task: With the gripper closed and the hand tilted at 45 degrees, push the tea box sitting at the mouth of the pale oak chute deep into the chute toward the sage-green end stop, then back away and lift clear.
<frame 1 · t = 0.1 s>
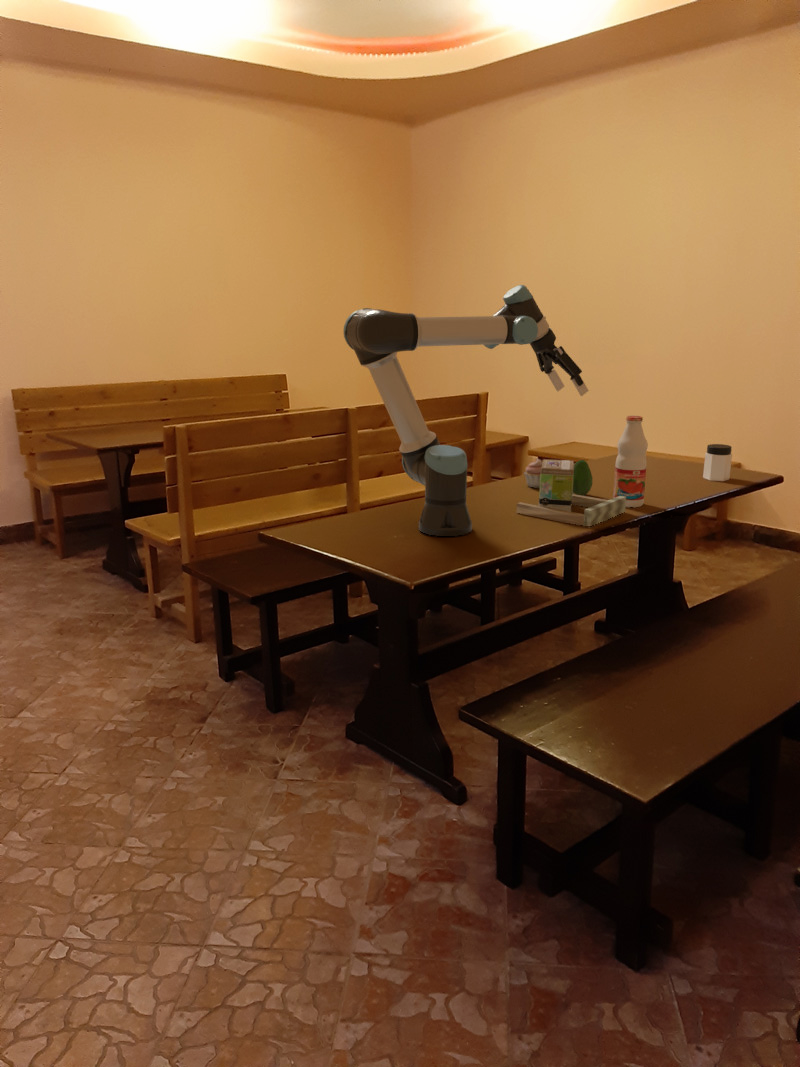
hand: (572, 391, 255), 36 cm above the table, tool tilted 35°, fingers open, 13 cm apart
avocado: (579, 495, 277), on the table
tea box: (555, 510, 259), on the table
cupcake: (536, 487, 290), on the table
chute: (569, 512, 255), on the table
fruit juice: (627, 505, 265), on the table
jar: (716, 479, 300), on the table
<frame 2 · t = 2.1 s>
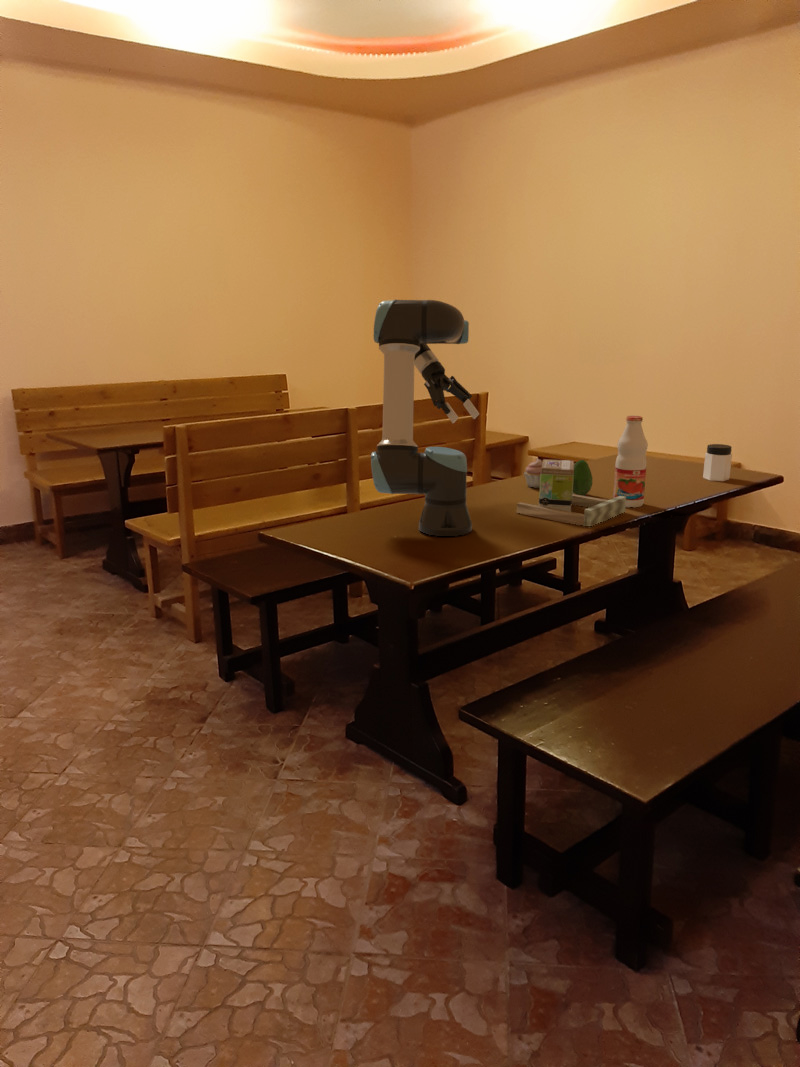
hand: (466, 418, 274), 25 cm above the table, tool tilted 45°, fingers open, 11 cm apart
nothing on the table moved.
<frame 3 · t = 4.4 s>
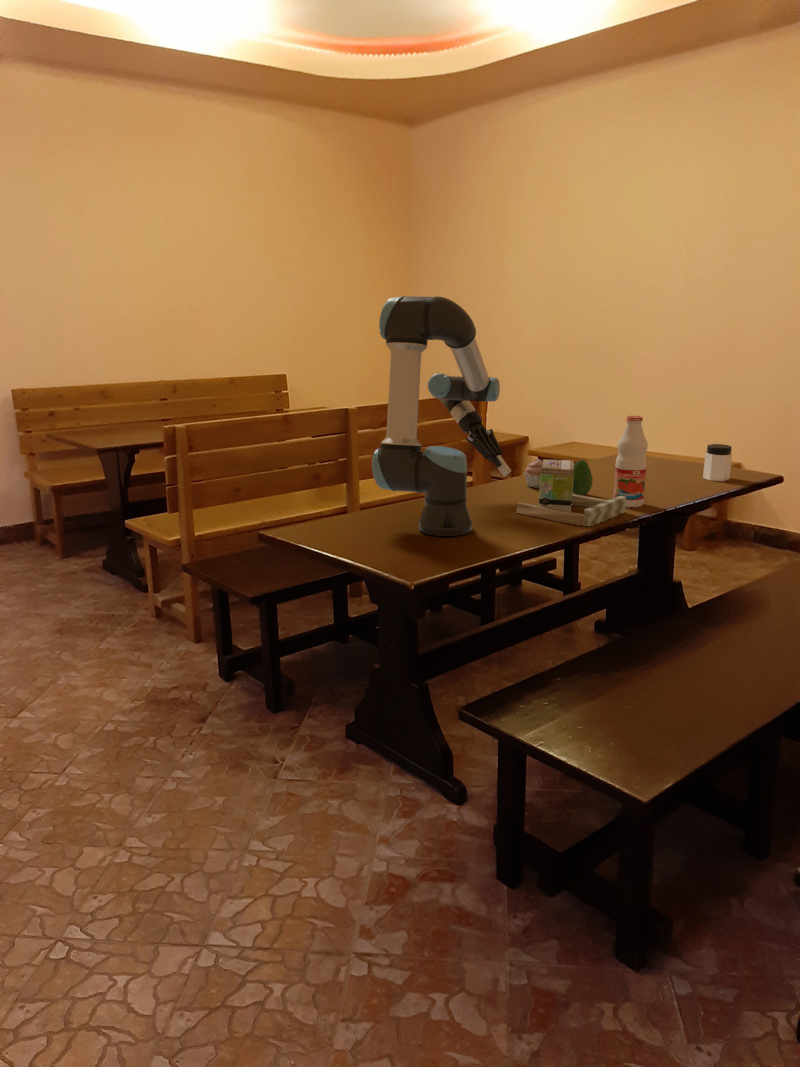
hand: (507, 473, 269), 9 cm above the table, tool tilted 45°, fingers closed
nothing on the table moved.
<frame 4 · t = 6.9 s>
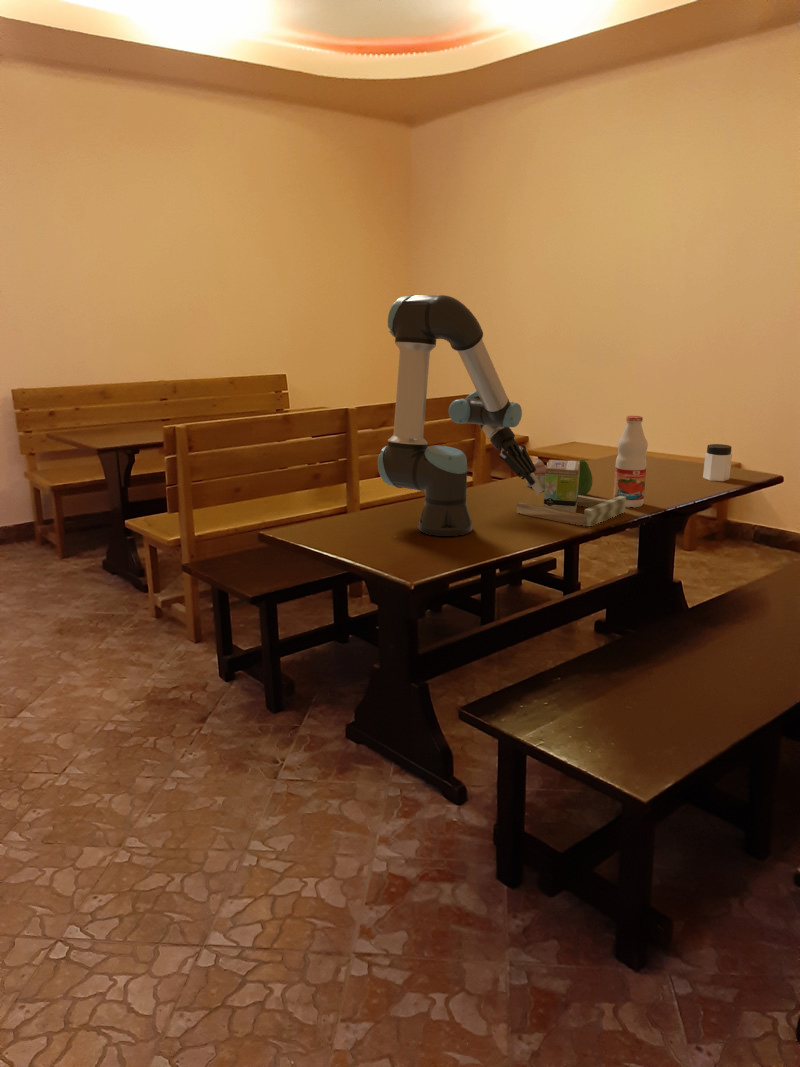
hand: (541, 491, 261), 5 cm above the table, tool tilted 45°, fingers closed
tea box: (560, 511, 258), on the table, touching gripper
everything else where it was.
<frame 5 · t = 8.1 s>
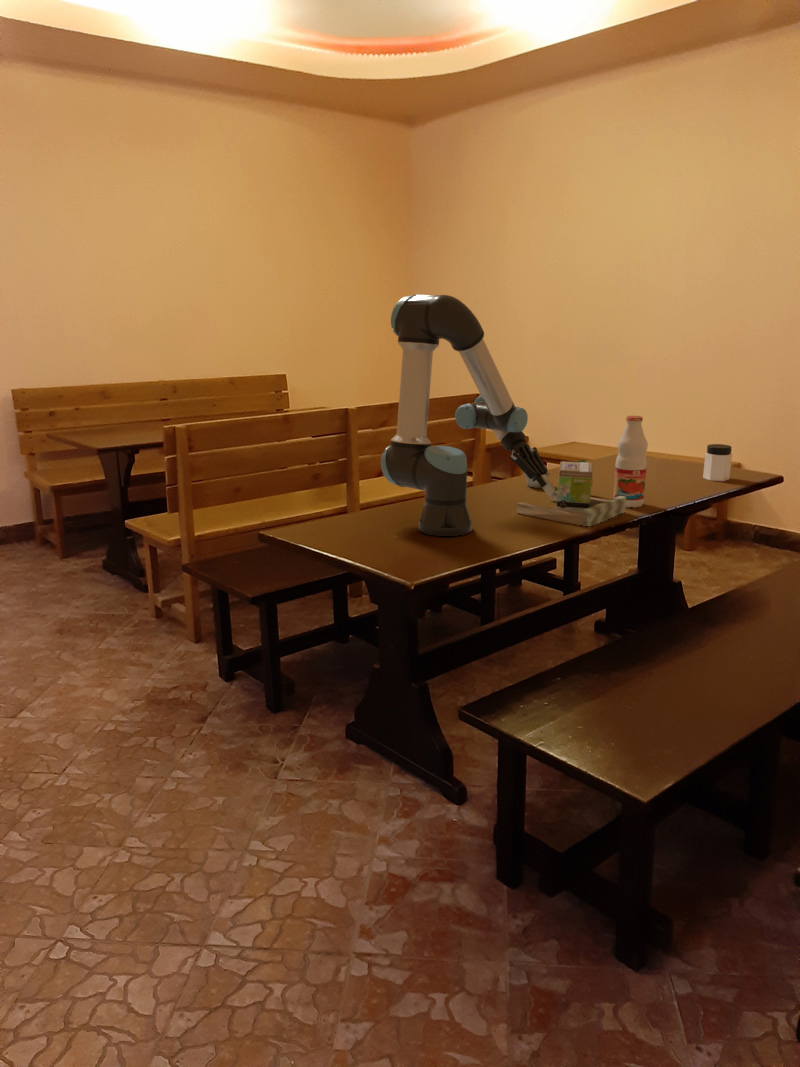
hand: (552, 493, 258), 5 cm above the table, tool tilted 45°, fingers closed
tea box: (572, 513, 255), on the table, touching gripper
everything else where it was.
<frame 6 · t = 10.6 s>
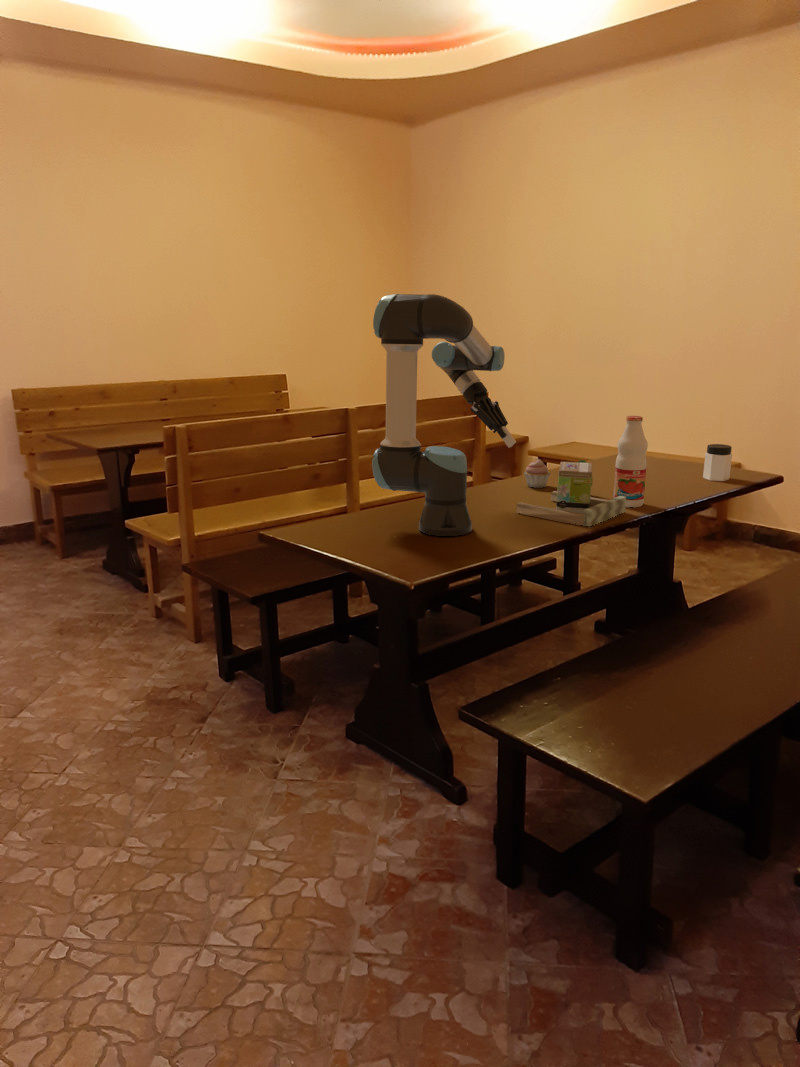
hand: (512, 444, 264), 18 cm above the table, tool tilted 45°, fingers closed
tea box: (572, 513, 255), on the table
everything else where it was.
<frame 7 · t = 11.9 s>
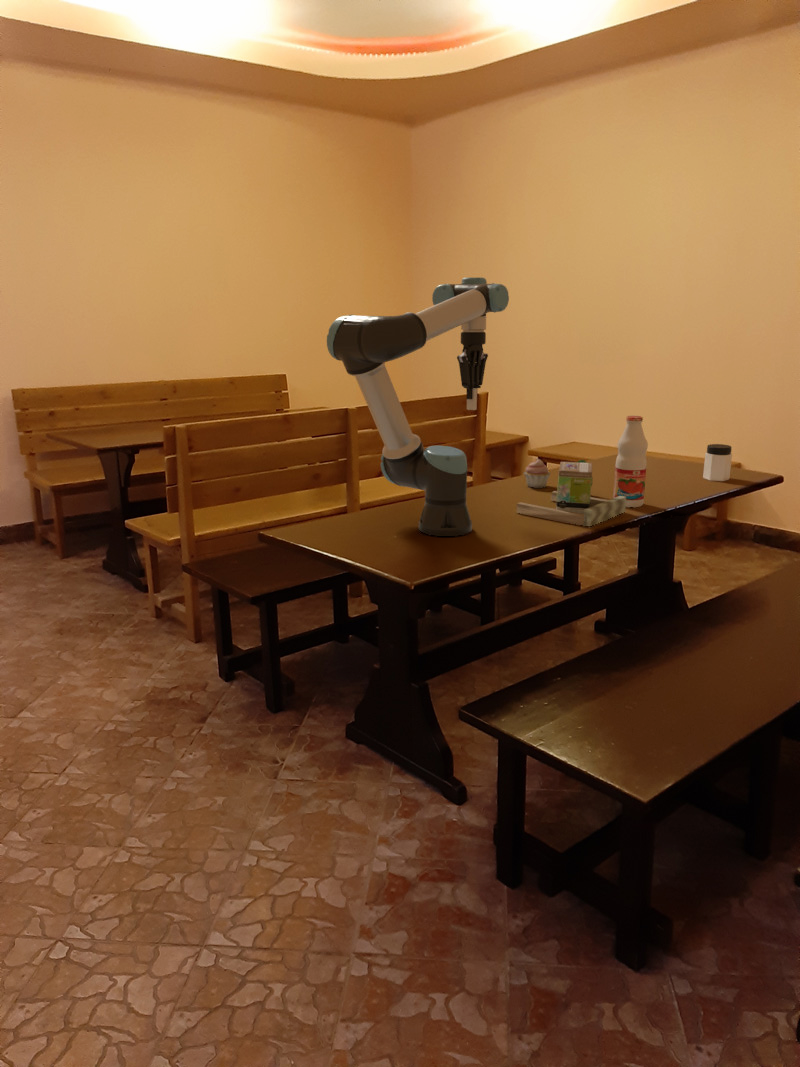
hand: (471, 409, 257), 30 cm above the table, tool pointing down, fingers closed
nothing on the table moved.
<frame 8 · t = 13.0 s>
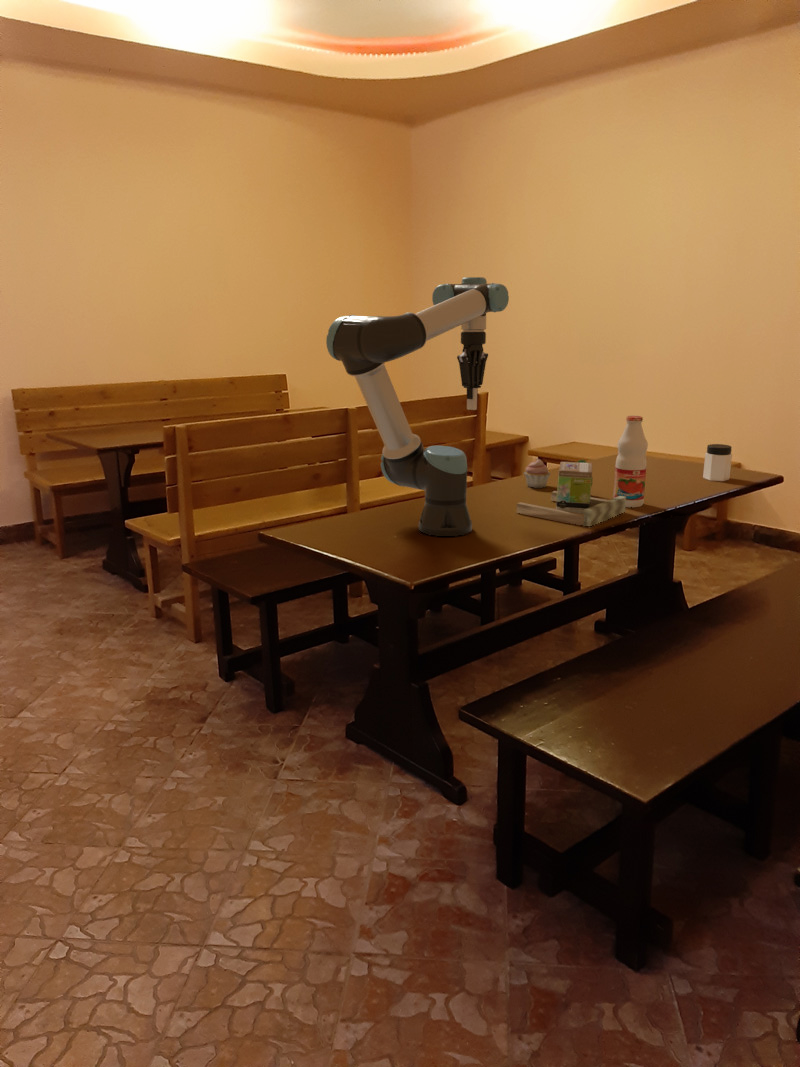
hand: (471, 409, 257), 30 cm above the table, tool pointing down, fingers closed
nothing on the table moved.
at the end: tea box inside the target area (1.8 cm from its centre), on the table; tea box tilted 0°; tea box moved 6.0 cm from its start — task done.
